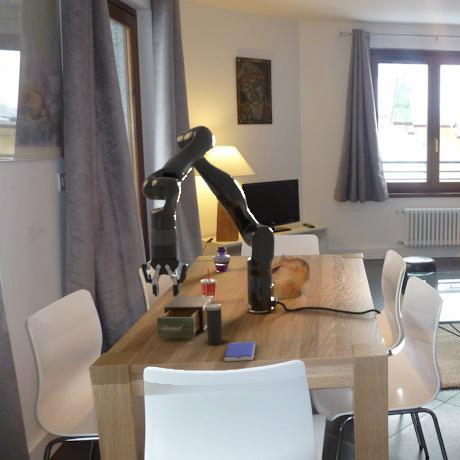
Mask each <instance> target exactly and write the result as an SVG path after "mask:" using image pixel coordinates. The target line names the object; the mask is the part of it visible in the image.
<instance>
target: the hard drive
mask: <svg viewBox="0 0 460 460" xmlns="http://www.w3.org/2000/svg"><path fill="white" fill-rule="evenodd" d="M255 348H256V341H236V342H228V344H227V348H226V351H225V355H224V361H225V362H239V361H242V362H243V361H252V360H253V359H254V354H255Z"/></svg>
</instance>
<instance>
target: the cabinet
mask: <svg viewBox="0 0 460 460" xmlns="http://www.w3.org/2000/svg"><path fill="white" fill-rule="evenodd" d="M209 304H215V303H214V296H203V295H197V294H196V295H195V294H193V295H188V294H187V295H185V294H183V295H180V294H178V295H177V296H176V297H174V298H172V300H171V301H169V302H168V303H167V304H166V305H165V306H164V308H163V310H164V311H163V312H164V314H165V313H166V312H168V311H169V310H200V315H201V327H200V328H199V329H198V331H197V332H196V333H204V332H205V331H206V330H207V305H209Z"/></svg>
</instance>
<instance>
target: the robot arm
mask: <svg viewBox="0 0 460 460" xmlns="http://www.w3.org/2000/svg"><path fill="white" fill-rule="evenodd" d="M215 141H216V139H215V136H214V133H213V132H212V131H211V130H210V128H208V126H205V125H196V126H194V127H192V128H189V129H186V130H185V131H181V132H180V133H178V134H177V136H176V145H177V147H178V149H179V151H178V152H176V153H174V154H173V155H172V156H171V157H170V158H169V159H168V160H167V161H166V162H165V163H164V165H163V166H162V167H161V168H159V169H157V170H156V171H154V172H152V173H151V174H149V175H148V176H147V177H146V178H145V180H144V181H143V183H142V186H141V191H142V194H143V196H144V197H145V198H146V199H148V200H150V201H164V205H163V206H160V207H155V208H153V209H151V210H150V214H149V216H150V217H149V218H150V234H149V235H150V236H149V238H150V258H151V260H150V262H144V263H142V264H141V265H140V267H141V272H142V275H143V278H144V281H145V283H146V284H151V286H152V295H154V297H155V298H157V297H159V296H160V283H159V281H160V278H161V276H163V275H165V276H169V279H171V281H172V297H174V298H175V297H177V296H178V295H180V284H183V283H184V282H186V279H187V274H188V270H189V266H190V265H189V263H188V262H185V263H184V262H180V260H179V255H178V251H179V250H178V233H177V227H176V226H177V224H176V223H177V222H176V212H177V206H178V202H179V198H180V194H181V183H182V182H183V181H184V179H185V177H187V174H188V173H189V172H190V171H191V170H192V168H194V169H195V171H196V172H197V173H198V175H199V176H200V177H201V178H202V180H203V181H204V183H205V184H206V185H207V187H208V189H209V190H210V192H211V193H212V195H213V197H215V199H216V200H217V202H218V203H219V204H220V206H221V207H222V209H223V210H224V211H225V213H226V214H227V216H228V217H229V218H230V219H231V221H232V223H233V224H234V226H235V227H236V229H237V231H238V233H239V235H240V237H241V238H242V240H243V242H244V243H245V244H246V245H247V246H248V247H250V248H251V256H250V257H249V258H248V259H247V260H246V276H247V277H246V281H247V282H246V284H247V286H246V287H247V303H246V308H247V312H248V313H250V314H259V315H260V314H267V313H272V312H273V311H274V308H277V306H278V305H280V306H282V307H283V310H284V311H285V312H299V311H303V310H317V311H319V310H320V311H328V312H335V313H341V314H347V315H357V316H359V315H366V314H368V313H372V312H373V313H377V314H379V315H381V314H382V312H381V311H379V310H378V309H376V308H371V309H367V310H364V311H350V310H344V309H336V308H331V307H324V306H301V307H297V308H293V309H291V308H287V305H286V304H285V303H284V302H282V301H280V300H279V297H278V296H275V295H274V293H275V289H274V284H273V261H274V258H275V244H276V243H275V233H274V231H273V230H272V228H271V227H269V226H267V225H264V224H261V223H259V222H258V221H257V219H255V217H254V215H253V214H252V213H251V212H250V209H249V208H248V204H247V199H246V195H245V194H244V191H243V189H242V188H241V186H240V185H239V183H238V181H237V180H236V179H235V178H234V177H233V176H232V175H231V174H229V173H228V172H226V171H225V170H223V169H221V168H219V167H217V166H216V165H214V164H212V163H211V162H210V161H209V160H208V159H207V158H206V157H205V156H206V154H207V153H209V152H210V151H212V149H214V147H215V143H216V142H215ZM178 267H179V270H180V274H179V275H180V276H179V275H178V272H177V269H178ZM151 268H152V270H154V273H153V276H152V274H151Z"/></svg>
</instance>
